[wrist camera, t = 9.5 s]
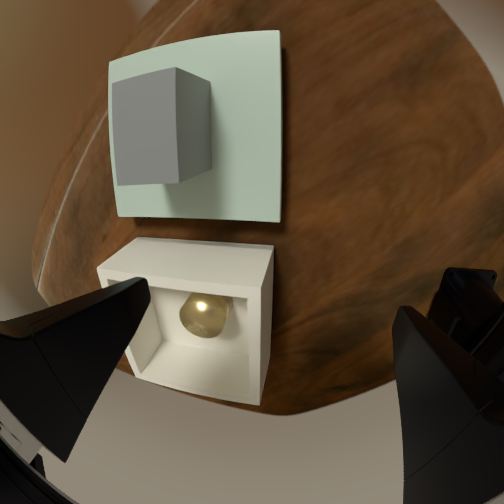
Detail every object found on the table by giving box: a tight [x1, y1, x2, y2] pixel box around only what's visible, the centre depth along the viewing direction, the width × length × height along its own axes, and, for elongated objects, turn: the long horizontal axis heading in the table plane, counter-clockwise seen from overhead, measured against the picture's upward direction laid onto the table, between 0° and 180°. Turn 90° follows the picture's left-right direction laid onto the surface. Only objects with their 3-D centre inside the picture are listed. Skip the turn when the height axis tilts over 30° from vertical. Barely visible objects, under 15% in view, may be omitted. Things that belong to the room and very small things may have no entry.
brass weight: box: [179, 292, 233, 338], centre depth 22 cm, size 4×4×3 cm
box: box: [97, 237, 274, 405], centre depth 22 cm, size 12×12×6 cm
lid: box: [108, 30, 282, 222], centre depth 15 cm, size 13×13×7 cm
